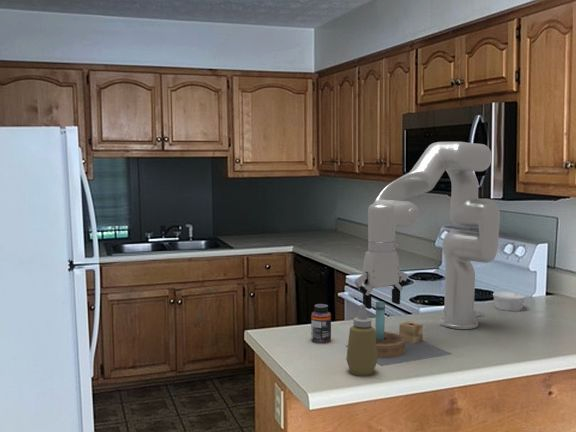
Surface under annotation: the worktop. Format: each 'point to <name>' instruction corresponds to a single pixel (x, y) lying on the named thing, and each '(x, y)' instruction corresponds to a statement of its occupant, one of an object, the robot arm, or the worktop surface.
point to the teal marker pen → (380, 320)
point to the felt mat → (414, 353)
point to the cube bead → (411, 332)
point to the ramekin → (508, 300)
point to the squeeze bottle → (362, 345)
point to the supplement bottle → (321, 324)
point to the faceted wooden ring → (390, 346)
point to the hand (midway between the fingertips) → (381, 305)
